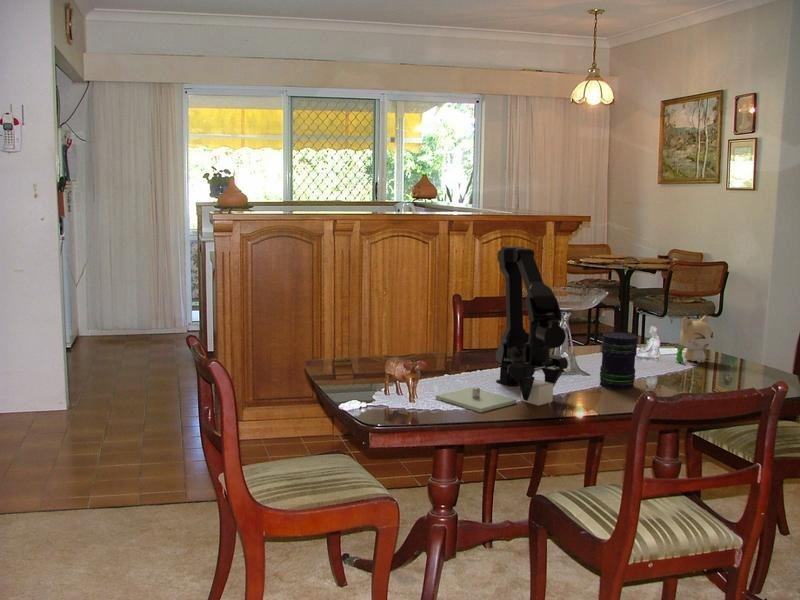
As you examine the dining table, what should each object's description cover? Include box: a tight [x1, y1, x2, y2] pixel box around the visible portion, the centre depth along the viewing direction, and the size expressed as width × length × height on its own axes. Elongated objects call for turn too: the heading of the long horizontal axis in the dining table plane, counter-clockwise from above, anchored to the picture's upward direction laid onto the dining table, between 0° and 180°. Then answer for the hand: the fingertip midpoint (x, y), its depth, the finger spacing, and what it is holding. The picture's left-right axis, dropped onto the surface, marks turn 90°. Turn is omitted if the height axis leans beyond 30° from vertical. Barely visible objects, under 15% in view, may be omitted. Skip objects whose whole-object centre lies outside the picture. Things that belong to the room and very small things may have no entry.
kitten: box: [675, 314, 714, 364], centre depth 278 cm, size 15×10×15 cm
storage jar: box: [599, 331, 638, 391], centre depth 242 cm, size 10×10×15 cm
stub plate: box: [435, 386, 517, 413], centre depth 223 cm, size 14×16×4 cm
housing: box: [520, 378, 554, 406], centre depth 224 cm, size 6×6×5 cm
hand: (536, 397), depth 224 cm, fingers open, 9 cm apart
